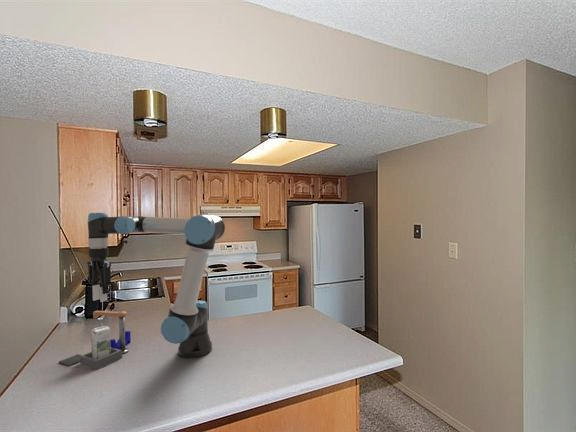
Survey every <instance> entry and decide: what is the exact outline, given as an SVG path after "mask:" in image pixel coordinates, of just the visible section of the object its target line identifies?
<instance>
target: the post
mask: <svg viewBox="0 0 576 432" xmlns="http://www.w3.org/2000/svg"><path fill="white" fill-rule="evenodd" d="M125 318H126V316H124V317H118V333H119V337H118V340H119V343H120V349H119V350H122V355H124V354H127V353H128V352H129V350H130V349H129V348H128V347H126V346H125V331H126V322H125V321H126V319H125Z"/></svg>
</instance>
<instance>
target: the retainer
mask: <svg viewBox="0 0 576 432" xmlns="http://www.w3.org/2000/svg"><path fill="white" fill-rule="evenodd" d="M100 316H108V317H117V318H119V317H124V316H125V317H126V316H127V311H126V310H122V311H113V310H111V311H110V310H95V311H93V312H92V317H93V318H92V319H97V318H99V317H100Z"/></svg>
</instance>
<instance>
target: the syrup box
mask: <svg viewBox="0 0 576 432" xmlns="http://www.w3.org/2000/svg"><path fill="white" fill-rule="evenodd" d="M90 332H91V352H92V358H93V359H100V358H102V357H105V356H107V355H109V354H111V345H110V339H111V328H110V327H109V326H107V325H103V326H98V327H94V328H92V329H91V331H90Z"/></svg>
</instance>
